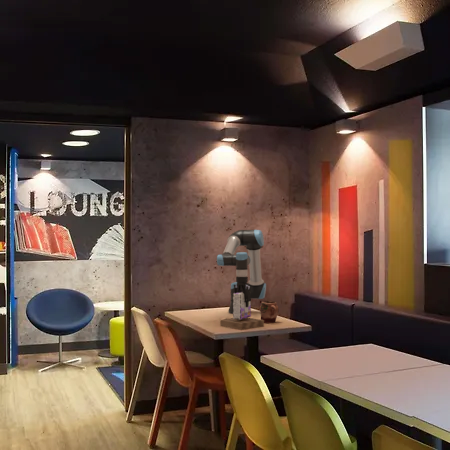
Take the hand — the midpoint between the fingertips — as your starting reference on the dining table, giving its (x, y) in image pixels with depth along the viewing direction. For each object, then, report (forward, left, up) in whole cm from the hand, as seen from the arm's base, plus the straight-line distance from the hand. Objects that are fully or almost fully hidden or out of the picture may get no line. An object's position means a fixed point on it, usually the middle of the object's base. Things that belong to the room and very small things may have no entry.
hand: (242, 311), depth 391 cm
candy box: (0, 0, -4) cm, 4 cm away
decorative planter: (-24, +1, -10) cm, 26 cm away
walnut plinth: (0, 0, -9) cm, 9 cm away
